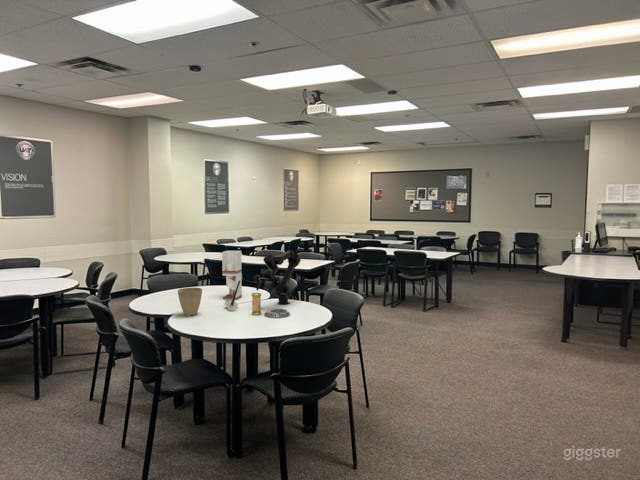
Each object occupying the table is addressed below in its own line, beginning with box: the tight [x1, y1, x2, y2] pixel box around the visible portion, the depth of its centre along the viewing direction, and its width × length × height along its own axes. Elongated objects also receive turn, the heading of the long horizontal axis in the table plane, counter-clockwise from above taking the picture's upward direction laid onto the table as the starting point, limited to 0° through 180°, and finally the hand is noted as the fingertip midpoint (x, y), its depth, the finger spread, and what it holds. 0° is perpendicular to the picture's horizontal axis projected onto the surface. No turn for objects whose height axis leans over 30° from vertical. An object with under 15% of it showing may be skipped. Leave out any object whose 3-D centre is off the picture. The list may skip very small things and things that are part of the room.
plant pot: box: [177, 287, 203, 317], centre depth 282 cm, size 15×15×16 cm
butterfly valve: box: [223, 281, 240, 312], centre depth 301 cm, size 9×20×17 cm
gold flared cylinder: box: [251, 292, 262, 316], centre depth 284 cm, size 6×6×13 cm
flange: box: [263, 308, 291, 319], centre depth 283 cm, size 16×16×2 cm
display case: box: [221, 250, 243, 301], centre depth 333 cm, size 11×11×35 cm
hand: (262, 290), depth 291 cm, fingers open, 9 cm apart
